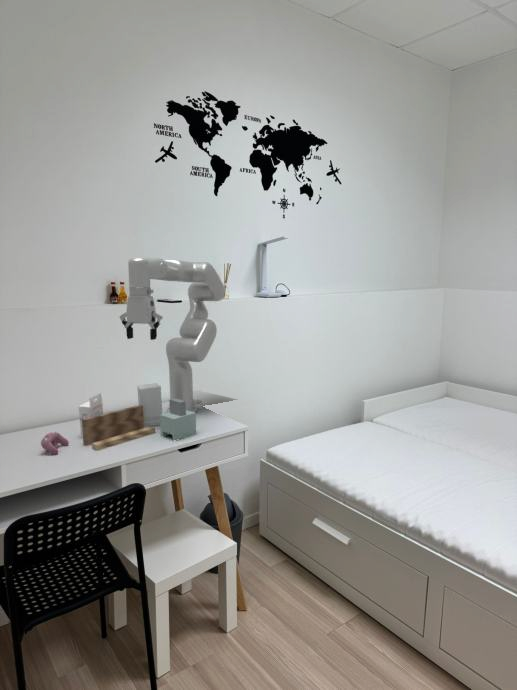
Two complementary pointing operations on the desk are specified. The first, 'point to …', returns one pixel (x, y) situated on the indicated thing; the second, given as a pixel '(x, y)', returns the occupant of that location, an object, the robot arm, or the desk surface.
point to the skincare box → (150, 403)
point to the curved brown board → (114, 427)
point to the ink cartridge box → (90, 409)
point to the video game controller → (53, 442)
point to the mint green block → (178, 420)
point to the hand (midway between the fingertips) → (141, 338)
